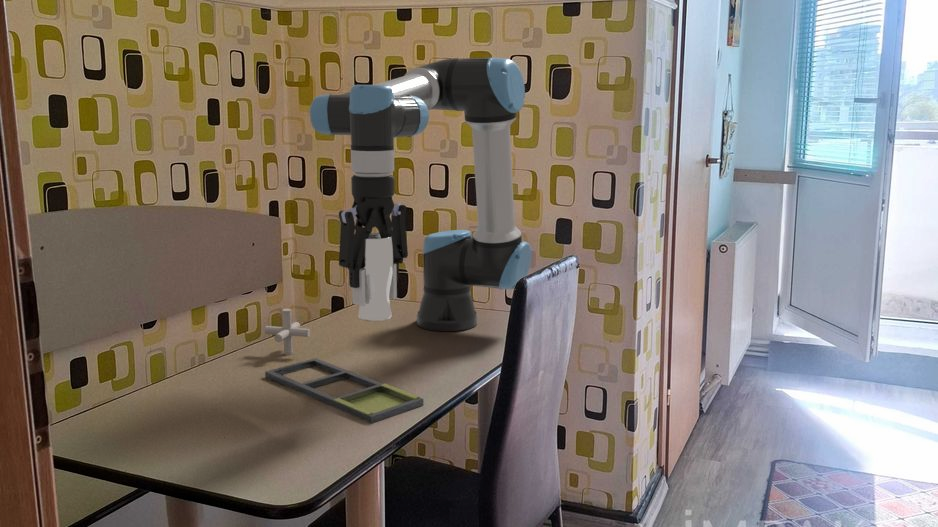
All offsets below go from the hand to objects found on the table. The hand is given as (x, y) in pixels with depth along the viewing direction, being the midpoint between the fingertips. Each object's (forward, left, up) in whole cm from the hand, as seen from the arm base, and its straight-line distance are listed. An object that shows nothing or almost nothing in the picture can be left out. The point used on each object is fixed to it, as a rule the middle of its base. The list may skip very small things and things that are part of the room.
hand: (375, 300), depth 156 cm
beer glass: (0, 0, -3) cm, 3 cm away
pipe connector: (-6, -38, -20) cm, 43 cm away
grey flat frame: (0, -11, -20) cm, 23 cm away
